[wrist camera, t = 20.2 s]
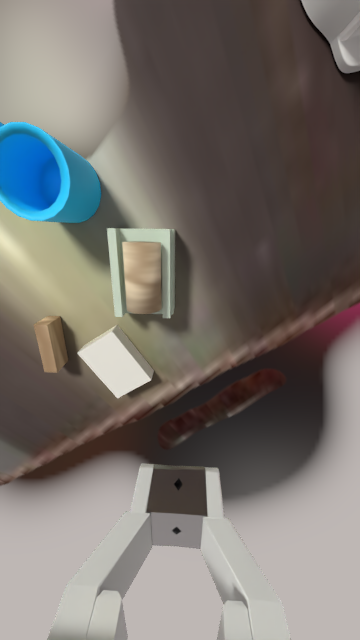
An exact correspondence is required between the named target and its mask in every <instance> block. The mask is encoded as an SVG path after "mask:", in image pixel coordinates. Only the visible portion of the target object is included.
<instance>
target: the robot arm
mask: <svg viewBox="0 0 360 640" xmlns="http://www.w3.org/2000/svg"><path fill="white" fill-rule="evenodd" d="M301 1H302V4H303V6H304V9H305V11H306V13H307V15H308V16H309V18H310V19H311V21H312V22H313V24H314V25H315V26H316V27H317V28H318V29H319V30H320V32H321V33H322V34H323V35H324V36H325V37H326V38H327V40H328V41H329V43H330V45H331V48H332V52H333V55H334V58H335V61H336V64H337V66H338V68H339V69H340V70H341V71H342V72H343V73H352V72H356V71H360V0H301ZM152 545H160V546H161V545H162V546H179V547H189V548H199V549H201V553H202V555H203V557H204V560H205V562H206V564H207V567H208V569H209V571H210V573H211V576H212V578H213V581H214V583H215V585H216V587H217V590H218V592H219V594H220V596H221V599H222V601H223V604H224V607H223V611H222V615H221V621H220V626H219V632H218V637H217V640H291V638H290V633H289V629H288V625H287V621H286V617H285V613H284V608H283V604H282V602H281V601H280V599H279V597H278V596H277V594H276V593H275V591H274V589H273V588H272V586H271V585H270V583H269V582H268V580H267V579H266V577H265V575H264V574H263V572H262V571H261V569H260V567H259V566H258V564H257V563H256V561H255V559H254V558H253V556H252V555H251V553H250V552H249V550H248V548H247V547H246V546H245V544H244V542H243V540H242V539H241V537H240V536H239V534H238V533H237V531H236V529H235V528H234V527H233V525H232V523H231V522H230V520H229V519H228V518H224V510H223V501H222V492H221V483H220V474H219V470H218V468H207V467H205V468H204V467H196V466H195V467H194V466H169V465H156V464H141V466H140V469H139V473H138V478H137V482H136V487H135V491H134V496H133V500H132V504H131V509H130V512H127V511H126V512H125V513H124V514H123V516H122V517H121V518H120V519H119V521H118V522H117V523H116V524H115V526H114V527H113V528H112V529H111V531H110V532H109V533H108V534H107V536H106V537H105V538H104V539H103V541H102V542H101V543H100V544H99V545H98V547H97V548H96V549H95V550H94V552H93V553H92V554H91V555H90V557H89V558H88V559H87V560H86V562H85V563H84V564H83V565H82V566H81V568H80V569H79V570H78V572H77V573H76V574H75V575H74V577H73V578H72V579H71V580H70V581H69V583H68V584H67V586H66V589H65V591H64V594H63V597H62V600H61V602H60V605H59V608H58V611H57V614H56V616H55V619H54V622H53V625H52V628H51V630H50V633H49V636H48V639H47V640H127V637H128V636H127V630H126V623H125V617H124V610H123V604H122V599H123V597H124V596H125V594H126V592H127V590H128V589H129V587H130V585H131V584H132V582H133V580H134V578H135V577H136V575H137V573H138V571H139V569H140V568H141V566H142V564H143V562H144V561H145V558H146V557H147V555H148V554H149V552H150V550H151V548H152Z"/></svg>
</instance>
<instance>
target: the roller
mask: <svg viewBox="0 0 360 640" xmlns="http://www.w3.org/2000/svg"><path fill="white" fill-rule="evenodd" d="M122 246H123V260H124V275H125V290H126V305H127V311H129V312H131V313H135V314H150V313H155V312H158V311H160V310H161V309H162V301H161V242H144V241H130V242H122Z"/></svg>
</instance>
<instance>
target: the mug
mask: <svg viewBox="0 0 360 640" xmlns="http://www.w3.org/2000/svg"><path fill="white" fill-rule="evenodd" d="M100 199H101V187H100V182H99V179H98V176H97V174H96V172H95V170H94V169H93V167H92V166H91V165H90V163H89V162H88V161H87V160H85V159H84V158H83V157H82V156H80V155H79V154H77V153H76V152H74V151H73V150H71V149H70V148H68V147H67V146H65V145H64V144H62V143H61V142H60V141H58V140H57V139H55V138H53V137H52V136H51V135H49V134H48V133H46V132H45V131H43V130H42V129H40V128H38V127H36V126H33V125H31V124H28V123H26V122H10V123H8V124H6V125H4V124H2V123H1V122H0V201H1V202H2V203H3V204H4V205H5V206H6V208H8V209H9V210H11V211H12V212H13V213H15V214H16V215H18V216H20V217H23V218H25V219H28V220H32V221H48V222H65V223H80V222H83V221H86V220H88V219H89V218H90V217H92V216H93V215H94V214H95V212H96V210H97V208H98V207H99V204H100Z"/></svg>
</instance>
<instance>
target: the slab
mask: <svg viewBox="0 0 360 640" xmlns="http://www.w3.org/2000/svg"><path fill="white" fill-rule="evenodd" d="M77 354H78V355H79V356H80V357H81V358H82V359H83V360H84V361H85V362H86V364H87V365H88V366H89V367H90V368H91V369H92V370H93V371H94V373H95V374H96V375H97V376H98V377H99V378H100V379H101V380H102V382H103V383H104V384H105V385H106V386H107V387H108V388H109V389H110V390H111V392H112V393H113V394H114V395H115V396H116V397H117V398H119V397H121V396H123V395H124V394H126V393H128V392H130V391H132V390H134V389H136V388H138V387H139V386H141V385H143V384H145V383H147V382H149V381H151V380H152V376H153V373H154V370H153V369H152V368H151V366H150V365H149V364H148V363H147V361H146V360H145V359H144V357H143V356H142V355H141V354H140V352H139V351H138V350H137V349H136V347H135V346H134V345H133V344H132V342H131V341H130V340H129V339H128V337H127V336H126V335H125V333H124V332H123V331H122V330H121V328H120V327H119V326H118V325H116V326H114V327H113V328H111V329H110V330H108V331H106V332H105V333H103V334H102V335H100V336H98V337H97V338H95V339H94V340H92V341H91V342H89V343H87V344H86V345H84V346H83V347H82V349H81V350H80V351H79V352H78V353H77Z"/></svg>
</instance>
